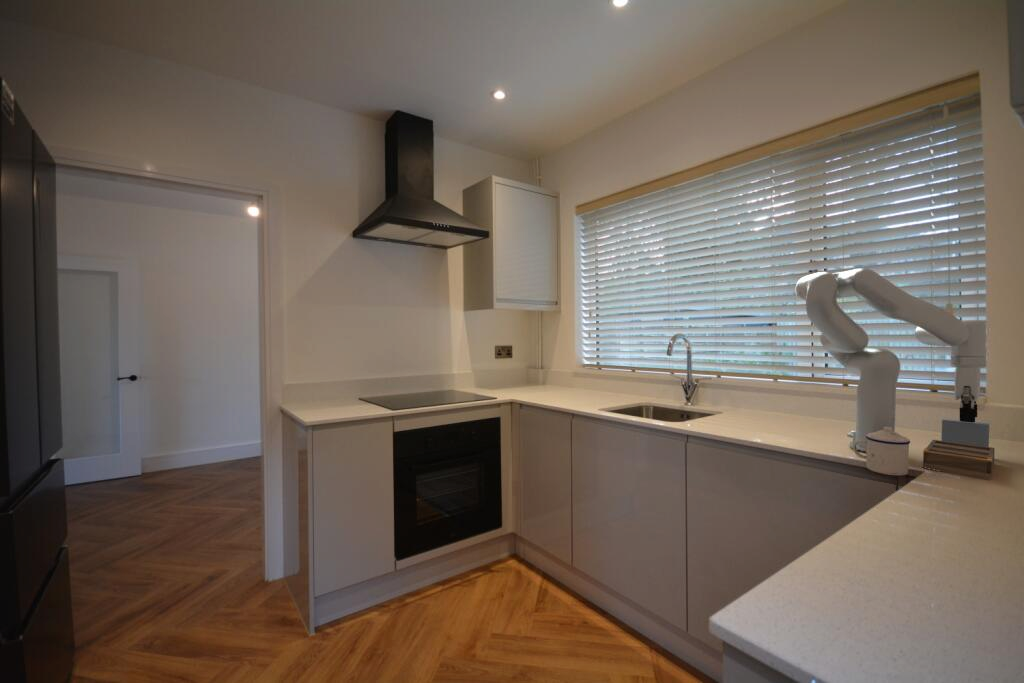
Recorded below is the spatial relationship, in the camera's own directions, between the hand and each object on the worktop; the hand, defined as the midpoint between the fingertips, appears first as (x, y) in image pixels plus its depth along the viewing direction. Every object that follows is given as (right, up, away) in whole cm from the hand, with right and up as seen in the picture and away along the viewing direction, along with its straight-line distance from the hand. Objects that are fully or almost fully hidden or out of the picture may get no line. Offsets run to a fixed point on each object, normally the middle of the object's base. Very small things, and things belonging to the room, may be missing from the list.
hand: (968, 419), depth 138 cm
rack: (-13, -11, -11) cm, 20 cm away
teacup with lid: (-38, -11, -14) cm, 42 cm away
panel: (-1, -11, +1) cm, 11 cm away
